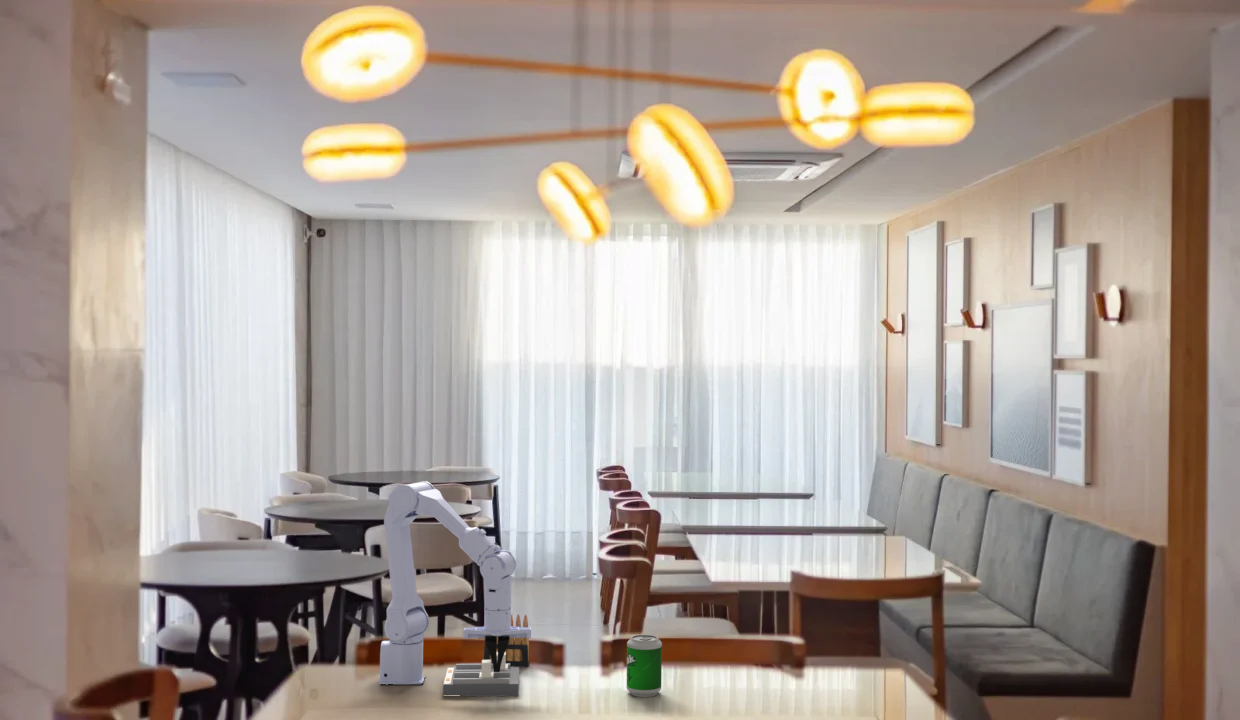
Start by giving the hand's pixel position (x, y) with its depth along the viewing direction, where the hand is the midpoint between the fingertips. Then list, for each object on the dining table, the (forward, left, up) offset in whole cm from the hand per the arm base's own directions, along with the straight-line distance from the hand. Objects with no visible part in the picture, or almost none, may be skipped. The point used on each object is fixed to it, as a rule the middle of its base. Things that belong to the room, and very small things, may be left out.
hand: (496, 671), depth 258 cm
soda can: (+32, -3, -5) cm, 32 cm away
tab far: (+1, +7, -2) cm, 7 cm away
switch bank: (-3, +3, -4) cm, 7 cm away
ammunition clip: (+2, +22, -5) cm, 23 cm away
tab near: (-2, 0, -2) cm, 3 cm away
